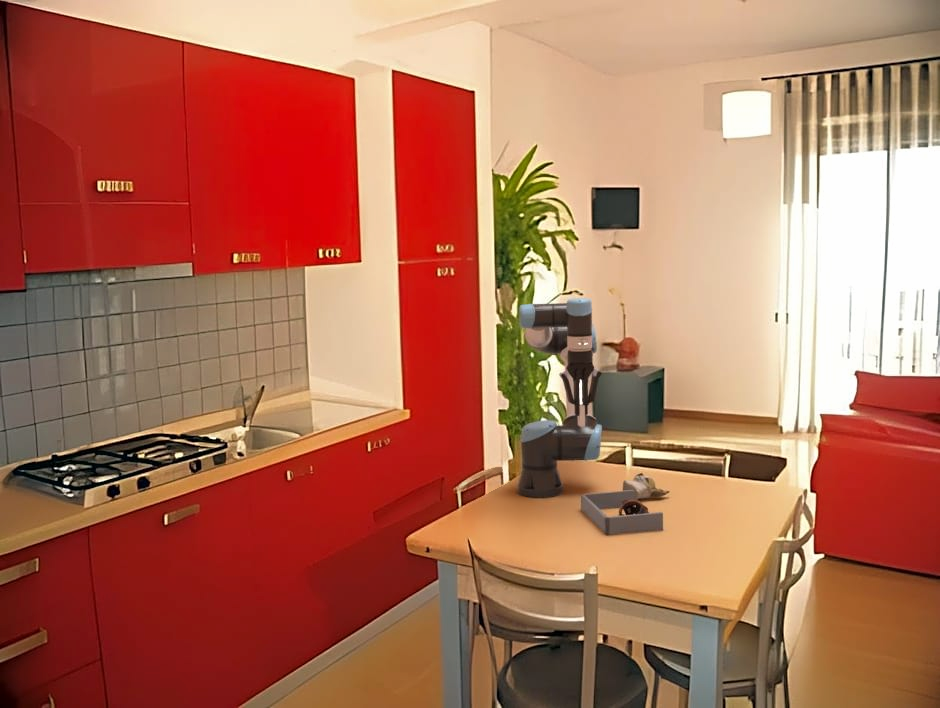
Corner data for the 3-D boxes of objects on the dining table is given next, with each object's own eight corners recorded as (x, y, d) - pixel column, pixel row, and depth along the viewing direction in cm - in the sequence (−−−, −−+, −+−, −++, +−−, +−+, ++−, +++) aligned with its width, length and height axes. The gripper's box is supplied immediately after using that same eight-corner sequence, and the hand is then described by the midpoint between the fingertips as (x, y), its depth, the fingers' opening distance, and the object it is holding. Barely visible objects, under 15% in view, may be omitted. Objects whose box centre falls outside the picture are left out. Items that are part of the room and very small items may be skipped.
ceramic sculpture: (613, 471, 280) (649, 467, 287) (612, 498, 281) (648, 492, 288) (635, 479, 271) (671, 474, 278) (634, 506, 272) (670, 500, 279)
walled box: (580, 510, 270) (580, 494, 270) (633, 505, 273) (633, 489, 272) (606, 535, 247) (605, 518, 246) (663, 529, 250) (662, 512, 249)
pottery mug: (660, 527, 253) (652, 507, 249) (633, 544, 252) (624, 525, 248) (638, 506, 264) (630, 486, 260) (612, 522, 262) (604, 503, 258)
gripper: (562, 352, 260) (564, 429, 263) (604, 349, 262) (605, 426, 265) (555, 349, 267) (557, 424, 270) (596, 346, 269) (597, 421, 273)
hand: (581, 425), depth 268 cm, fingers closed
